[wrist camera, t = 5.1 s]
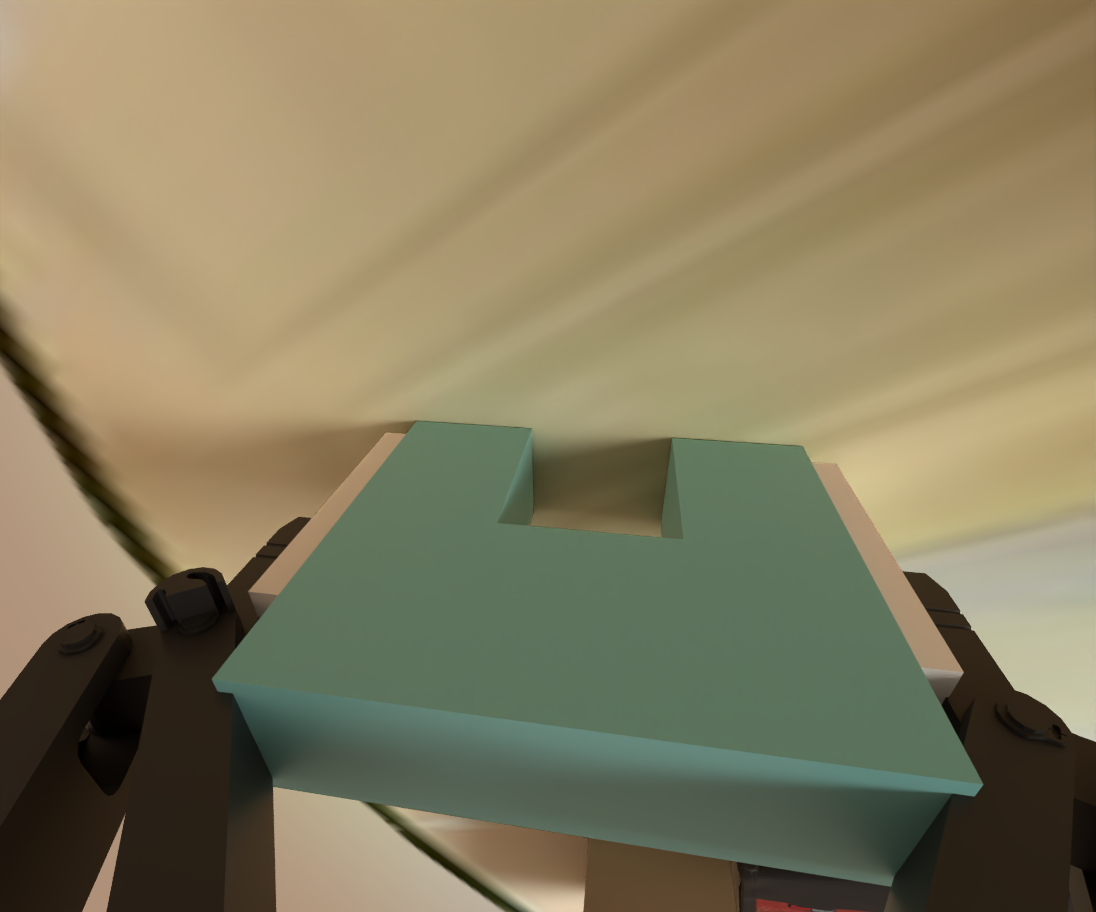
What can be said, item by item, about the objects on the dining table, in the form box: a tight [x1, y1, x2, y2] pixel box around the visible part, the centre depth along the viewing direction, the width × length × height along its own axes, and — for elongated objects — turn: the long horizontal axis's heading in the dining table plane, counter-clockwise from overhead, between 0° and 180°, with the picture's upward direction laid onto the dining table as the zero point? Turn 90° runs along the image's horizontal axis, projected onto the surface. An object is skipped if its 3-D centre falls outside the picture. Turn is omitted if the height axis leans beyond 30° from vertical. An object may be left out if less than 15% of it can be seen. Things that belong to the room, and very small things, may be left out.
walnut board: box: [583, 838, 737, 912], centre depth 20 cm, size 22×3×9 cm, turn 0°
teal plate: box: [212, 421, 984, 887], centre depth 12 cm, size 11×3×9 cm, turn 90°
